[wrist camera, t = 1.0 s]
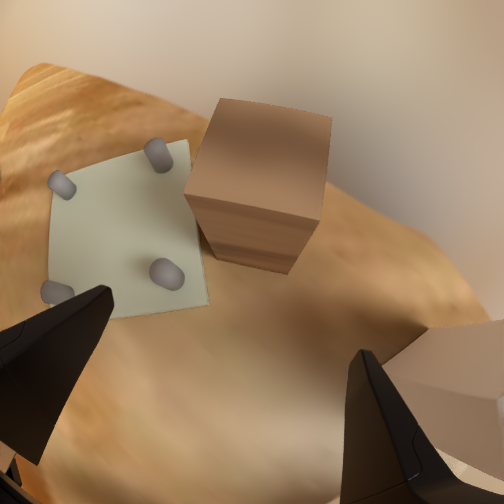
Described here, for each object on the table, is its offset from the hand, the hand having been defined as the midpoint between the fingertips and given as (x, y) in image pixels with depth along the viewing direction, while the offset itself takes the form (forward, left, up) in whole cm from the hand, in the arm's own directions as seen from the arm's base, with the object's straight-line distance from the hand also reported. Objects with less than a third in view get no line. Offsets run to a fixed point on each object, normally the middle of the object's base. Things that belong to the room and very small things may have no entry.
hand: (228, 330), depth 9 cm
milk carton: (+8, -15, -14) cm, 22 cm away
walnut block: (+6, +5, -14) cm, 16 cm away
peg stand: (-4, +14, -14) cm, 20 cm away
